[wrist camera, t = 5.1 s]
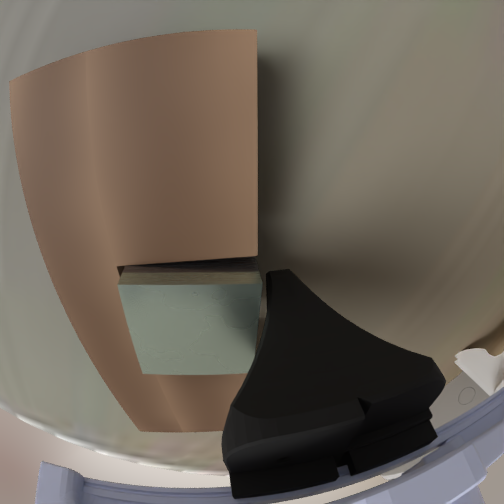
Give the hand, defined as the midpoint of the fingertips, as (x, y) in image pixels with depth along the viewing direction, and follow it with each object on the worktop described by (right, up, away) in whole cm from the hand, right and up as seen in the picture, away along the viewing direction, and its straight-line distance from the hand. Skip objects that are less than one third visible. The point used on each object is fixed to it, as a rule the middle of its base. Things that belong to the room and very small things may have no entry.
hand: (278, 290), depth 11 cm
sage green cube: (-3, +1, +1) cm, 4 cm away
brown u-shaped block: (-5, 0, +1) cm, 5 cm away
